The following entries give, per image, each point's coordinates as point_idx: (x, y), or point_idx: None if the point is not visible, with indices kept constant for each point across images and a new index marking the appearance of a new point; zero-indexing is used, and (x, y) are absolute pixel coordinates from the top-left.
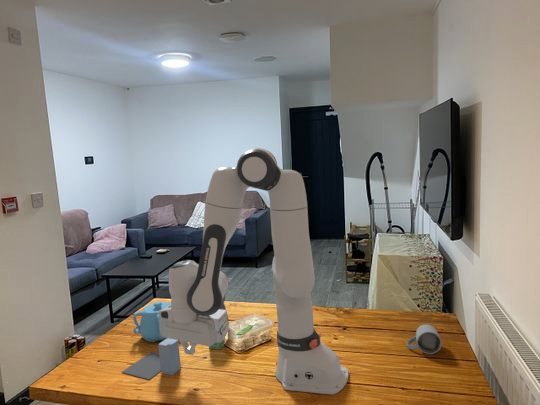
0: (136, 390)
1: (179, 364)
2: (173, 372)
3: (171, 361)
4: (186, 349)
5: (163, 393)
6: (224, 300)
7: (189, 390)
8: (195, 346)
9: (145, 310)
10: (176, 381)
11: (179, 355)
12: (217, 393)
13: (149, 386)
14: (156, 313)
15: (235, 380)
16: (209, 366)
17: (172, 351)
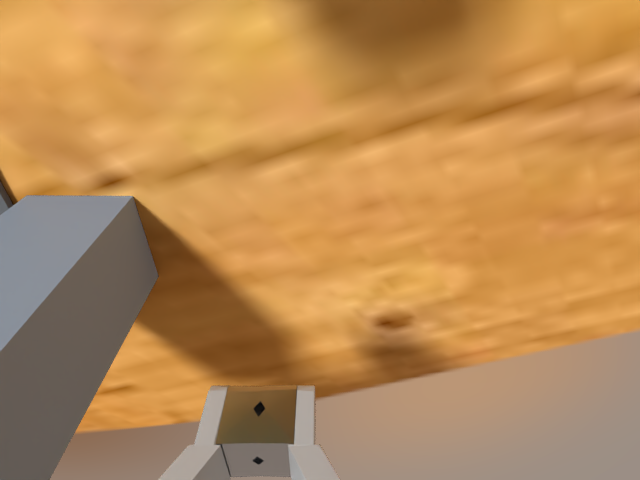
0: (120, 396)
1: (118, 228)
2: (149, 273)
3: (113, 348)
4: (243, 472)
5: (254, 380)
6: None
7: (362, 338)
8: (332, 468)
9: None
10: (235, 307)
11: (75, 268)
12: (529, 316)
13: (143, 367)
14: None
15: (626, 190)
16: (332, 90)
17: (60, 406)
